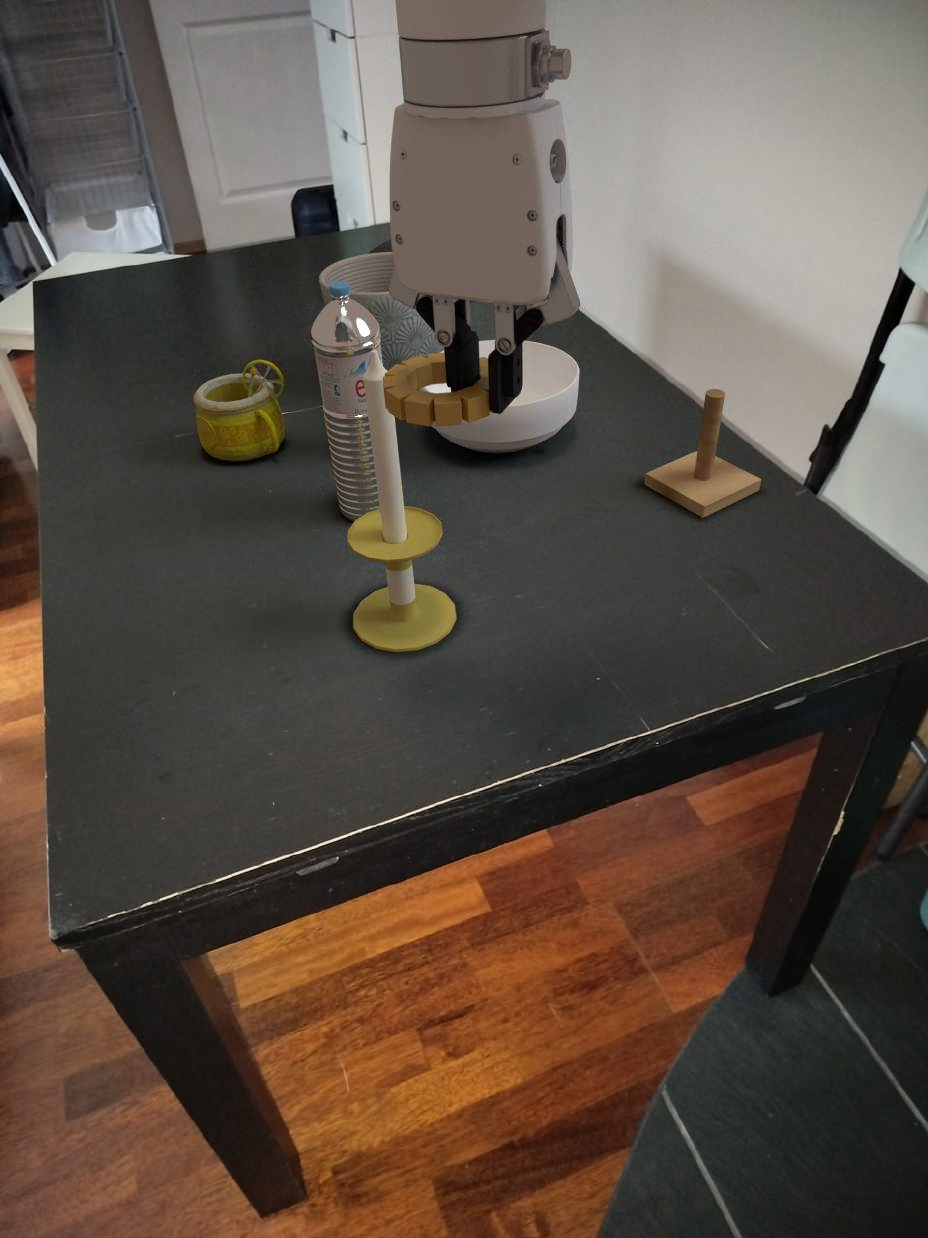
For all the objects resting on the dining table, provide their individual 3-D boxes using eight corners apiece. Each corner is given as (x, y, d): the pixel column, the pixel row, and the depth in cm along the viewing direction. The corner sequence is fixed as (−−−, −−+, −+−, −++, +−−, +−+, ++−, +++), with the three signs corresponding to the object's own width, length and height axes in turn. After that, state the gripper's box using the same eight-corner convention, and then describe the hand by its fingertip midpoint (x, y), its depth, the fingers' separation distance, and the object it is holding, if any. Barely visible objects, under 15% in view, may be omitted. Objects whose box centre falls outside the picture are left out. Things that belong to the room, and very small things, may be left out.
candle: (469, 638, 79) (454, 357, 62) (363, 662, 77) (317, 380, 60) (441, 577, 87) (420, 311, 69) (343, 597, 85) (297, 329, 68)
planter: (427, 411, 115) (418, 297, 105) (314, 399, 120) (296, 288, 110) (468, 361, 127) (463, 254, 118) (363, 351, 132) (350, 248, 122)
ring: (528, 401, 57) (528, 378, 56) (427, 438, 54) (425, 415, 53) (459, 364, 62) (458, 342, 61) (363, 396, 59) (360, 374, 58)
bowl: (479, 388, 120) (477, 328, 115) (604, 420, 111) (608, 357, 106) (391, 446, 108) (384, 383, 103) (523, 489, 99) (523, 422, 94)
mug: (185, 450, 110) (160, 360, 102) (255, 419, 116) (235, 332, 108) (244, 482, 103) (222, 388, 95) (315, 447, 109) (299, 356, 101)
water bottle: (352, 532, 94) (317, 302, 78) (330, 503, 98) (293, 281, 82) (409, 514, 96) (386, 287, 80) (385, 486, 101) (358, 267, 85)
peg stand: (759, 490, 96) (778, 395, 89) (702, 518, 93) (717, 420, 85) (699, 459, 102) (713, 367, 95) (644, 484, 98) (653, 390, 91)
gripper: (641, 64, 45) (618, 395, 56) (375, 63, 50) (404, 364, 62) (597, 89, 40) (581, 447, 51) (306, 84, 45) (352, 408, 57)
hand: (484, 399), depth 57 cm, fingers closed on ring, 2 cm apart
